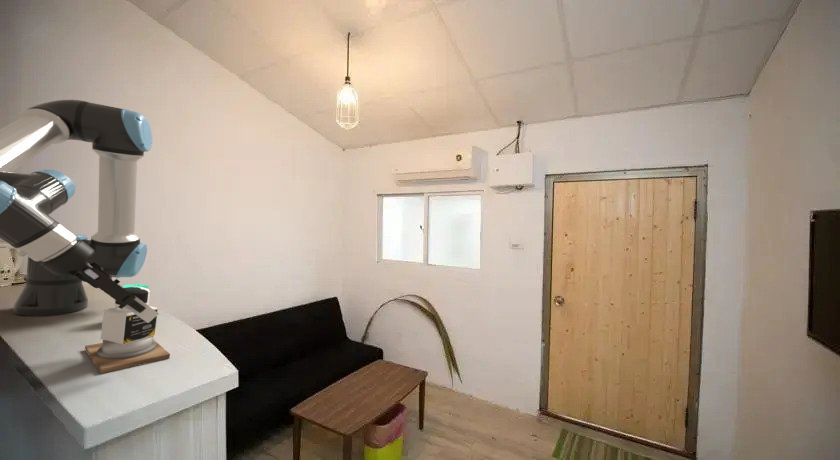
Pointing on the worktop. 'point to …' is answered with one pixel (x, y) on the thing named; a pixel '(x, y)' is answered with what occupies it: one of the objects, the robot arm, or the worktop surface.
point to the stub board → (125, 354)
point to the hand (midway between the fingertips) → (144, 310)
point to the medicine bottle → (127, 321)
